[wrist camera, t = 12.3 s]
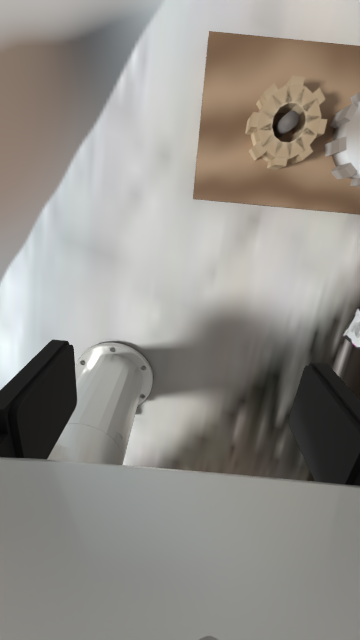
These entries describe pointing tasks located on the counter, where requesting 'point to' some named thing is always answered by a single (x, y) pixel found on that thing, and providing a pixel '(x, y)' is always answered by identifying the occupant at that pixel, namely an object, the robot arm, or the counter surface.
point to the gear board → (279, 124)
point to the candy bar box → (354, 330)
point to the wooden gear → (305, 130)
